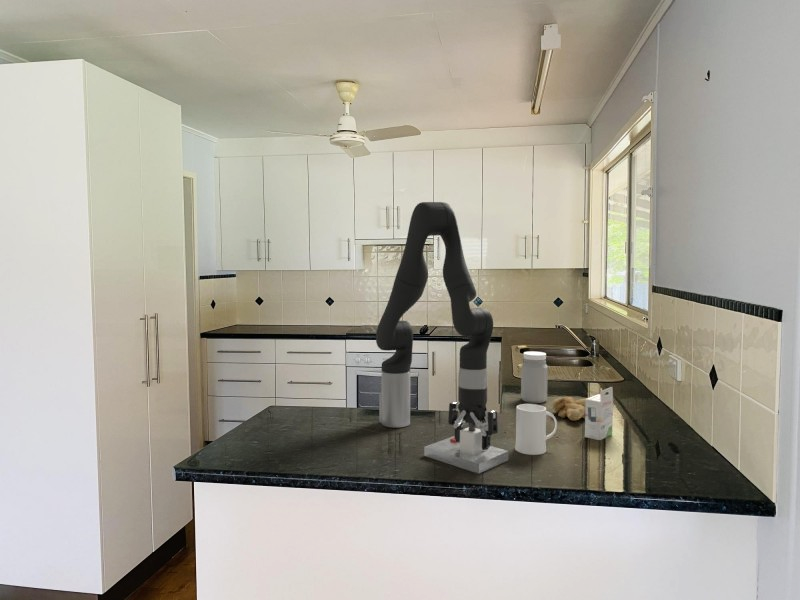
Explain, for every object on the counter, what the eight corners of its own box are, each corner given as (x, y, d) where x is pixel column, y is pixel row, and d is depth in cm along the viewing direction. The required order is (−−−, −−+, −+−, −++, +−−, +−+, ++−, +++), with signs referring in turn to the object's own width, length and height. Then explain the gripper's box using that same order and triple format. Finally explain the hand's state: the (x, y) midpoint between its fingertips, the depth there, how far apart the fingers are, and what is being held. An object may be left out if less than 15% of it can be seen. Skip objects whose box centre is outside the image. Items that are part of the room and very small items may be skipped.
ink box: (597, 431, 171) (598, 383, 170) (612, 434, 167) (614, 386, 166) (583, 437, 165) (584, 388, 164) (599, 441, 161) (601, 391, 160)
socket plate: (424, 455, 149) (424, 444, 149) (454, 444, 158) (454, 433, 158) (479, 473, 136) (479, 461, 136) (508, 460, 146) (508, 448, 145)
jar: (552, 401, 207) (553, 353, 206) (534, 405, 202) (535, 356, 200) (532, 396, 215) (533, 350, 214) (515, 399, 210) (515, 352, 208)
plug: (459, 460, 146) (460, 421, 145) (469, 455, 149) (470, 417, 148) (473, 464, 143) (473, 424, 142) (483, 459, 146) (484, 421, 145)
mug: (552, 444, 158) (553, 403, 158) (562, 454, 150) (563, 411, 149) (511, 444, 158) (512, 403, 157) (519, 455, 149) (519, 411, 149)
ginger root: (566, 403, 199) (570, 383, 196) (603, 424, 186) (608, 403, 184) (535, 411, 190) (539, 390, 188) (571, 434, 178) (576, 411, 175)
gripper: (442, 382, 147) (442, 442, 148) (486, 391, 137) (486, 455, 138) (460, 378, 152) (459, 436, 153) (503, 386, 142) (503, 448, 143)
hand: (472, 445), depth 146 cm, fingers open, 8 cm apart
